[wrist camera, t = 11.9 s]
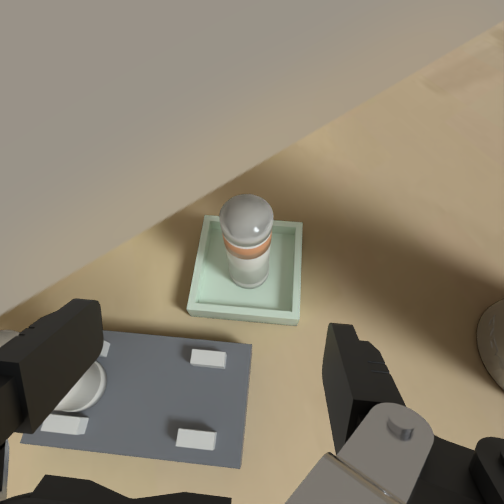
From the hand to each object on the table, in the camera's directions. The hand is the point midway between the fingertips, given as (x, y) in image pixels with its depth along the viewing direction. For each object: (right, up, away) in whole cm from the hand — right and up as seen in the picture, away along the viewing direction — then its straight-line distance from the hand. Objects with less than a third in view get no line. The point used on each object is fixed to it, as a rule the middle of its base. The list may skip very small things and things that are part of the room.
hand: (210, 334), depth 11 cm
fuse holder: (-6, -8, +14) cm, 18 cm away
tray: (+1, +1, +19) cm, 19 cm away
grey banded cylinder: (+1, +1, +18) cm, 19 cm away
